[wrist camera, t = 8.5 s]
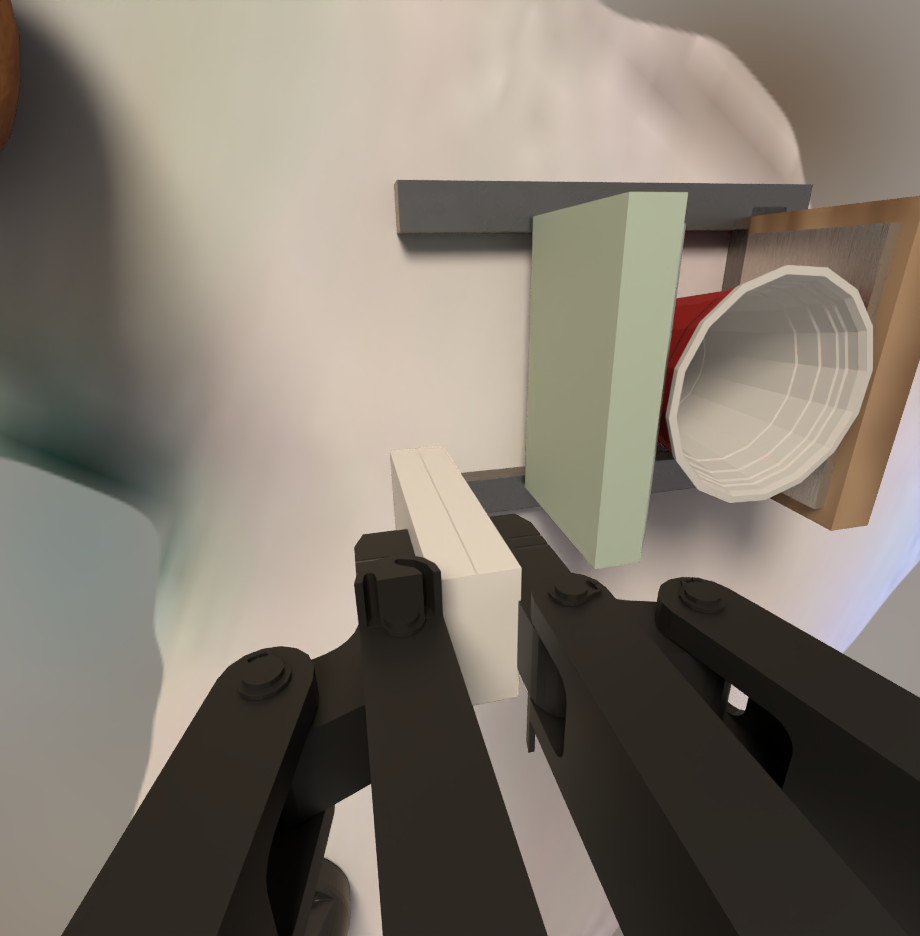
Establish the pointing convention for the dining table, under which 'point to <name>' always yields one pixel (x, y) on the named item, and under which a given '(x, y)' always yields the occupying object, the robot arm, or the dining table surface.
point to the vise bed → (749, 256)
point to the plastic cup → (764, 380)
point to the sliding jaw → (601, 364)
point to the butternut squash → (8, 70)
